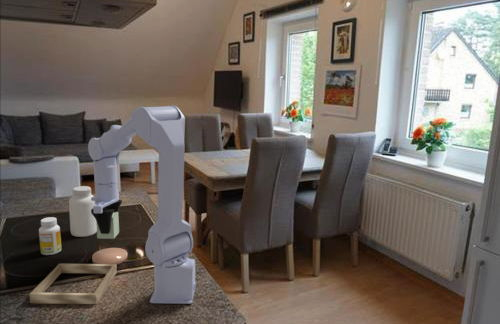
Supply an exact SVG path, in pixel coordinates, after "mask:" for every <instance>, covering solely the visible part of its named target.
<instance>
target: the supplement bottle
mask: <svg viewBox="0 0 500 324" xmlns="http://www.w3.org/2000/svg"><path fill="white" fill-rule="evenodd" d="M57 221H58V220H57V217H54V216H51V217H50V216H48V217H44V218H42V219H41V220H40V225H41V226H40V227H39V229H38V237H39V248H40V254H41V255H44V256H49V255H50V256H51V255H56V254H58V253H59V252H61V251H62V237H61V236H62V235H61V227H60V226H59V225H58V222H57Z"/></svg>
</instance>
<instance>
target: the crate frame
mask: <svg viewBox="0 0 500 324" xmlns="http://www.w3.org/2000/svg"><path fill="white" fill-rule="evenodd" d="M117 265H118V264H117ZM117 265H116V264H94V263H58V264H57V265H56V267H54V269H52V270H51V271H50V272H49V274H47V276H46V277H45V278H44V279H43V280H42V281H40V282H39V284H38V285H37V286H36V287H35V288H34V289H33V290H32V291H30V293H29V304H54V305H55V304H59V305H61V304H62V305H66V304H68V305H97V304H98V303H99V301H100V300H101V298H102V296H103V295H104V293H105V291H106V290H107V289H108V287H109V286H110V284H111V282H112V281H113V279H114V277H115V276H116V274H117V272H118V271H117V267H118V266H117ZM62 274H101V275H102V274H104V275H105V276H104V277H103V279H102V280H101V282H100V284H99V285H98V287H97V288H96V289H95V291H94V292H46V291H47V289H49V288H50V286H51V285H52V284H53V283H54V282H55V281H56V280H57V279H58V277H60V275H62Z"/></svg>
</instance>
